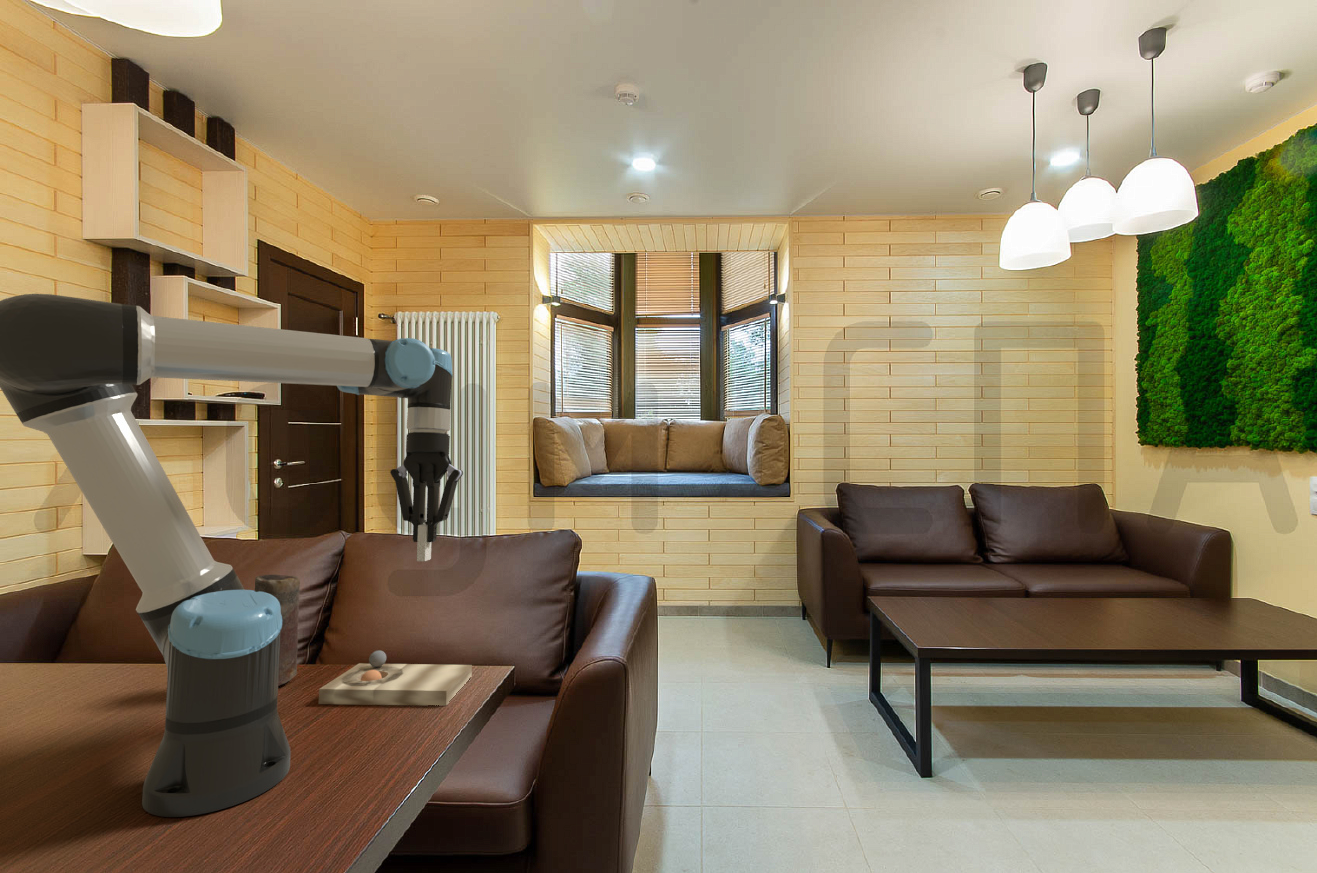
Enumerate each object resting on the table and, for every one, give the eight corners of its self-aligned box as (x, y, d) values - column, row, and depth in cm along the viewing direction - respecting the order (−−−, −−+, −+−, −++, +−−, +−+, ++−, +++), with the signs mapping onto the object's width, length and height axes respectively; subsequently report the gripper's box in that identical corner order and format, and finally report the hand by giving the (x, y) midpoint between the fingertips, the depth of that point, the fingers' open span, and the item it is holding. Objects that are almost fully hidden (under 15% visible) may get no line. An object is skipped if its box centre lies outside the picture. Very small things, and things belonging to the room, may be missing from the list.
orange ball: (382, 692, 106) (386, 672, 106) (362, 694, 104) (365, 674, 104) (376, 685, 109) (379, 666, 109) (356, 687, 106) (360, 668, 106)
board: (471, 678, 112) (471, 665, 112) (446, 705, 99) (446, 690, 100) (358, 676, 113) (359, 663, 113) (318, 704, 100) (319, 689, 100)
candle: (264, 677, 112) (268, 572, 113) (304, 675, 113) (308, 571, 114) (240, 692, 104) (245, 579, 105) (283, 691, 105) (288, 579, 106)
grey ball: (388, 667, 111) (388, 651, 111) (371, 670, 109) (371, 654, 109) (383, 663, 113) (384, 647, 113) (366, 666, 111) (367, 650, 111)
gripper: (470, 433, 112) (466, 557, 111) (402, 433, 112) (398, 556, 111) (456, 431, 105) (451, 564, 103) (384, 430, 105) (378, 562, 103)
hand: (423, 560), depth 107 cm, fingers closed
